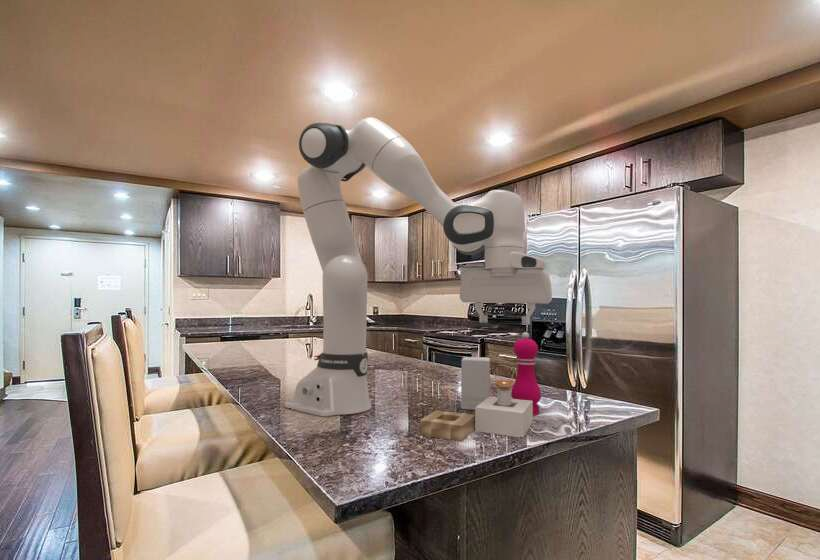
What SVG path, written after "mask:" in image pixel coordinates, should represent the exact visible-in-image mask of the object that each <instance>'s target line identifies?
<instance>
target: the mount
mask: <svg viewBox="0 0 820 560" xmlns="http://www.w3.org/2000/svg"><path fill="white" fill-rule="evenodd" d="M419 420H420V421H419V422H420V425H419V426H420V427H419V429H420V431H419V432H420V433H419V435H420V436H423V437H424V436H425V437H431V438H432V437H433V438H439V439H444V440H452V441H458V442H463V441H464V440H465V439H466V438H467V437H468V436H469V435H471V433H472V432H474V431H475V414H469V413H461V412H453V411H444V410H437V409H436V410H435V411H433V412H431V413H430V414H428V415H426V416H425V417H423V418H422V419H419Z"/></svg>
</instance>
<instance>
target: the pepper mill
mask: <svg viewBox="0 0 820 560" xmlns="http://www.w3.org/2000/svg"><path fill="white" fill-rule="evenodd" d="M521 337H522V338H519V339H517V340H516V341H515V342H514V343H513V352H514V354H515V356H516V357H515V364H516V366H517V371H516V372H517V373H516V374H517V375H516V377H515V380H514V381H513V387H511V399H520V400H530V401H533V416H537V415H539V414H540V405H538V403H539V402H540V400H541V398H542V393H541V389H540V386H539V384H538V381H537V378H536V376H535V374H536V373H535V365H536V364H537V362H536V361H537V358H536V355H538V352H539V346H538V344H537V342H536V341H535V340H534V339H530V333H528V332H526V331H525V332H523V333H522V335H521Z"/></svg>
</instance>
